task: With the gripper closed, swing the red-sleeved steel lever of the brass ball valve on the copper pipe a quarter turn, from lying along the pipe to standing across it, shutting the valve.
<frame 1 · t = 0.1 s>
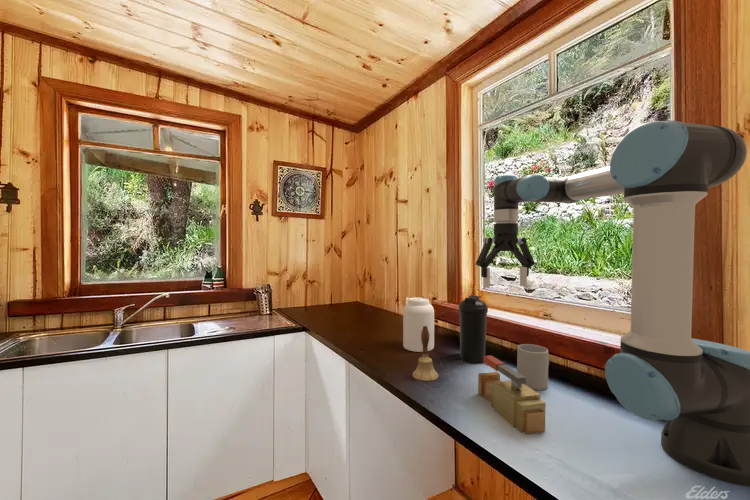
hand: (505, 286, 109), 28 cm above the table, fingers open, 13 cm apart
lever: (503, 372, 86), point 9 cm above the table, hinge at 0.0°
valve: (516, 416, 81), on the table
mug: (535, 383, 100), on the table
white lidded jar: (418, 348, 133), on the table
hand bell: (425, 376, 105), on the table
water bottle: (472, 360, 120), on the table
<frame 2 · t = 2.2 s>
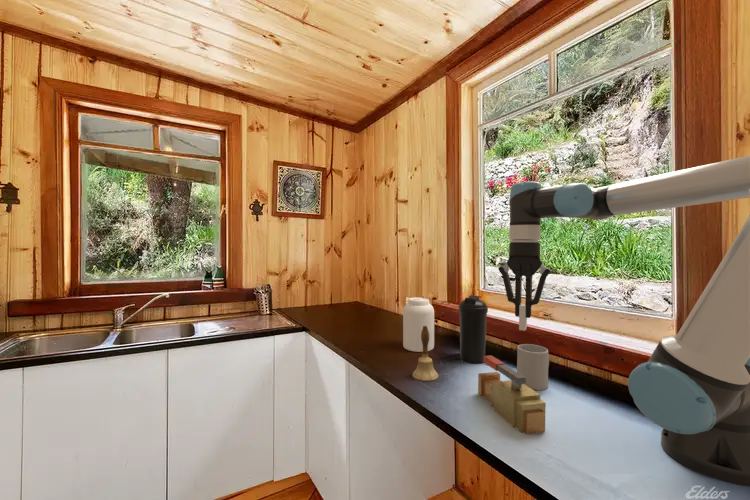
hand: (522, 329, 88), 20 cm above the table, fingers closed
nothing on the table moved.
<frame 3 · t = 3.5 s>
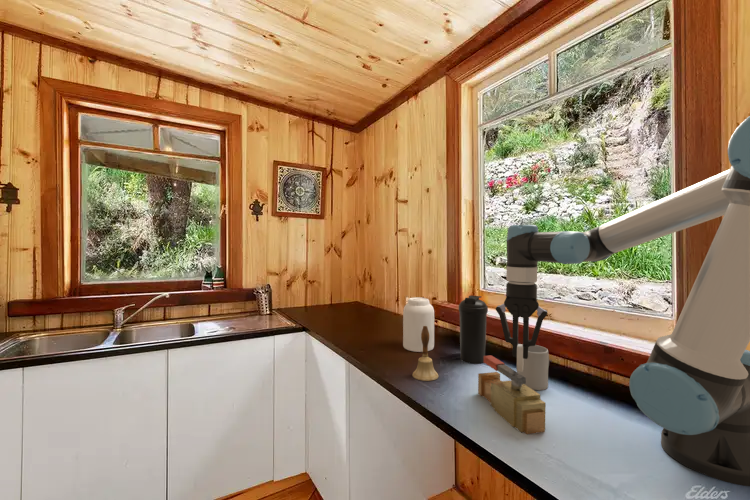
hand: (520, 369, 89), 9 cm above the table, fingers closed
nothing on the table moved.
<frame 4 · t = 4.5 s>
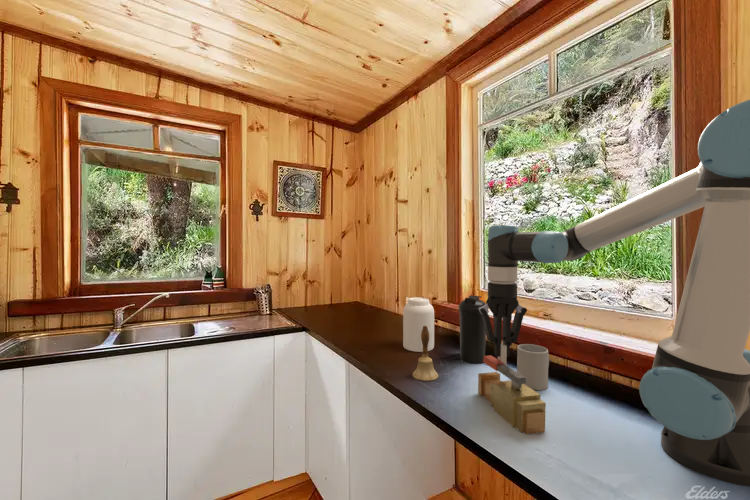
hand: (501, 367, 90), 9 cm above the table, fingers closed
lever: (503, 372, 86), point 9 cm above the table, hinge at 0.1°, touching gripper
everything else where it was.
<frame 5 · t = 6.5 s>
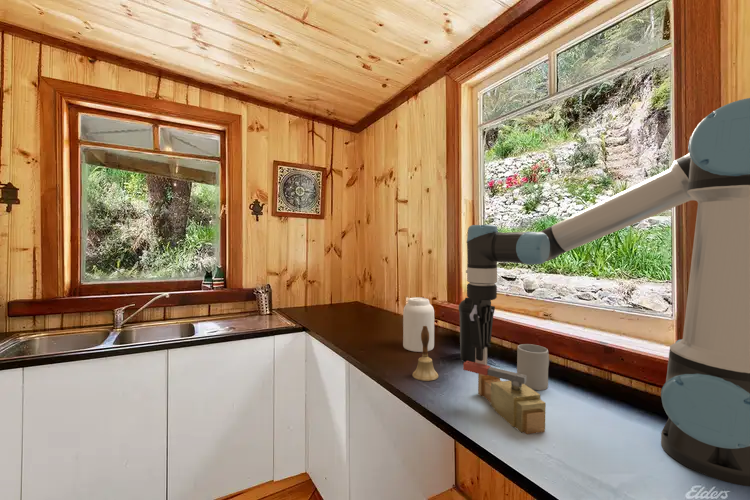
hand: (481, 370, 88), 8 cm above the table, fingers closed
lever: (493, 375, 84), point 9 cm above the table, hinge at 40.0°, touching gripper
everything else where it was.
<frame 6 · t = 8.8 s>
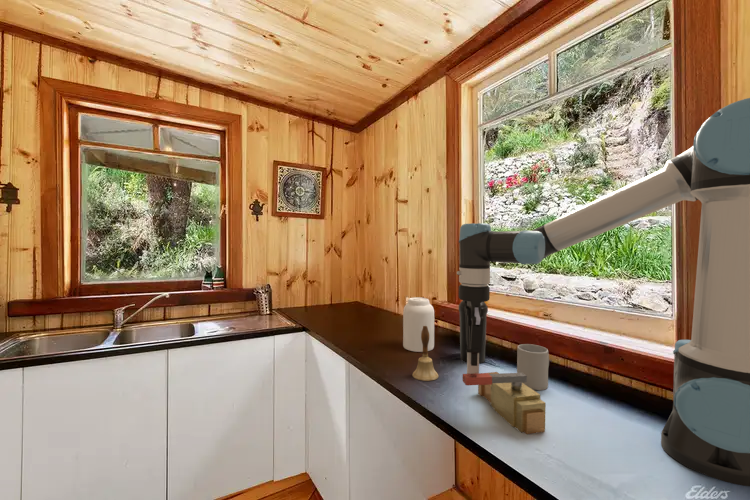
hand: (472, 376, 84), 9 cm above the table, fingers closed
lever: (494, 382, 80), point 9 cm above the table, hinge at 83.0°
everything else where it was.
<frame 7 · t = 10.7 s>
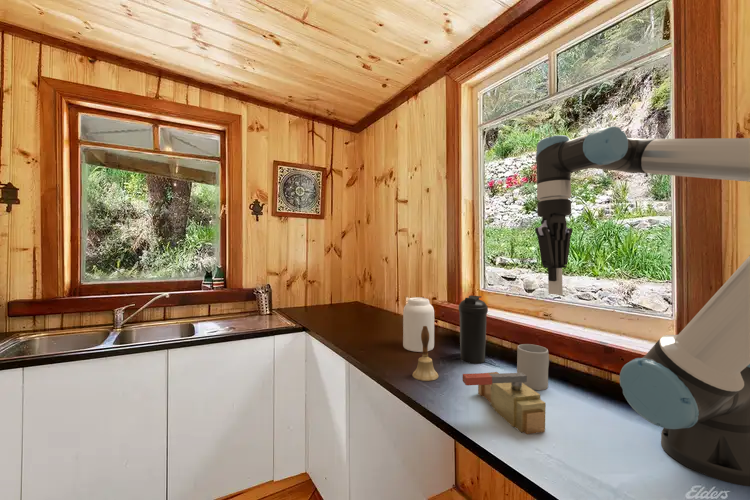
hand: (555, 293, 82), 30 cm above the table, fingers closed
nothing on the table moved.
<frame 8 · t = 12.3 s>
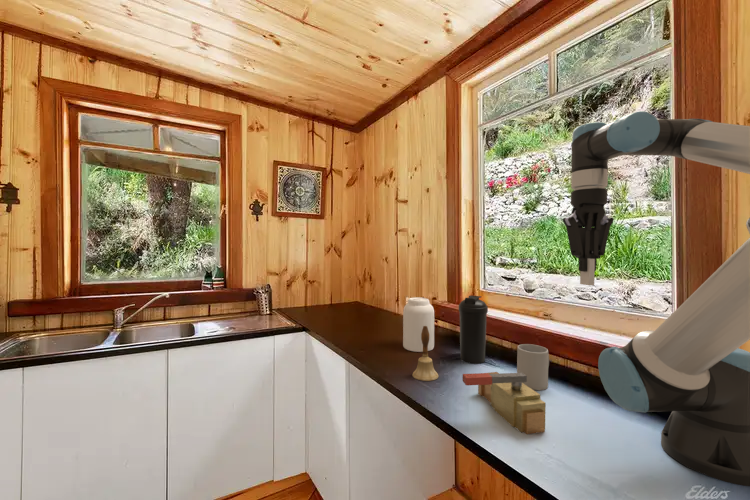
hand: (587, 284, 82), 32 cm above the table, fingers closed
nothing on the table moved.
at the end: lever at +83° (first picture: +0°) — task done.
